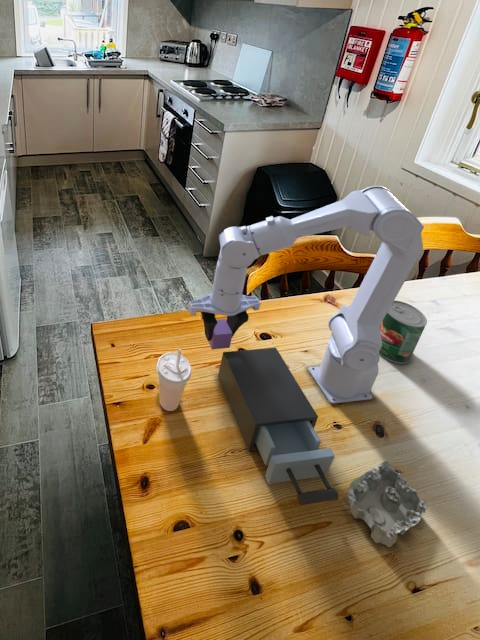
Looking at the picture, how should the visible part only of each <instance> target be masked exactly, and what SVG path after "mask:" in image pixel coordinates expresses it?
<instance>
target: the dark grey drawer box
mask: <svg viewBox="0 0 480 640" xmlns="http://www.w3.org/2000/svg"><path fill="white" fill-rule="evenodd" d="M217 378H218V380H219V383H220V386H221V388H222V390H223V393H224V395H225V398H226V400H227V403H228V405H229V408H230V410H231V412H232V415H233V416H234V419H235V422H236V424H237V426H238V429H239V431H240V433H241V436H242V438H243V442H244V443H245V447H246V448H247V451H255V450H258V447H257V445H256V443H255V440H256V436H257V433H258V429H259V427H260V426H268V425H276V424H285V423H293V422H302V421H310V423H311V425H312V426H313V428H314V429H315V427H316V424H317V422H318V419H319V416H318V413H317V412H316V411H315V409H314V408H313V406H312V404H311V403H310V401H309V399H308V397H307V396H306V394H305V392H304V390H303V389H302V388H301V386H300V384H299V382H298V381H297V380H296V378H295V376H294V374H293V373H292V372H291V370H290V368H289V367H288V365H287V363H286V362H285V360H284V358H283V357H282V355H281V353H280V351H279V350H278V349H277V347H270V348H269V347H267V348H254V349H244V350H233V351H223V352H222V355H221V360H220V365H219V369H218V374H217Z"/></svg>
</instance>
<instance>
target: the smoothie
mask: <svg viewBox="0 0 480 640" xmlns="http://www.w3.org/2000/svg"><path fill="white" fill-rule="evenodd" d="M156 372H157V375H158V395H159V396H158V398H159V406H161V408H162V409H164V410H165V411H167V412H173V411H175V410H177V409H178V407H179V404H180V402H181V399H182V396H183V394H184V390H185V388H186V386H187V383H188V382H189V380H190V378H191V376H192V366H191V364H190V361H189V360H188V358H186V357H185V356H184V355H182V348H178V349H177V352H166V353H163V354H162V355H161V356H159V358H158V360H157V364H156Z"/></svg>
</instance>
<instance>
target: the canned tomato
mask: <svg viewBox="0 0 480 640" xmlns="http://www.w3.org/2000/svg"><path fill="white" fill-rule="evenodd" d="M427 324H428V320H427V317H426V316H425V314H424V313H423V312H421V310H419V309H418V308H416V307H415V306H413V305H412V304H409V303H407V302H404V301H401V300H396V299H395V300H394V301H393V303H392V305H391V307H390V308H389V310H388V312H387V314H386V316H385V317H384V319H383V321H382V323H381V324H380V332H381V340H382V347H381V348H380V350H379V356H381V357H382V358H383V359H385V360H387V361H389V362H391V363H394V364H399V365H402V364H407V363H409V362H410V361H411V358H412V356H413V354H414V352H415V349H416V347H417V345H418V343H419V341H420V339H421V337H422V334H423V332H424V330H425V328H426V326H427Z"/></svg>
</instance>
